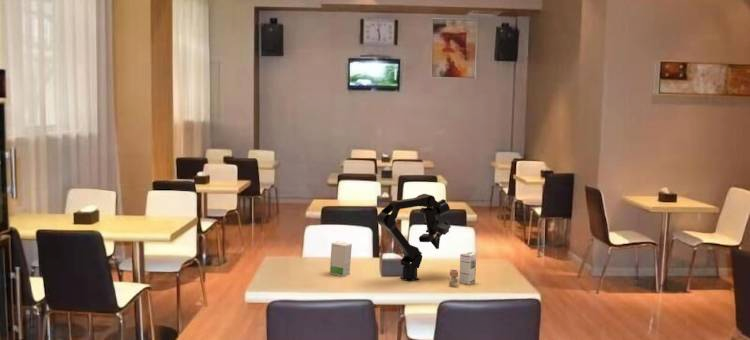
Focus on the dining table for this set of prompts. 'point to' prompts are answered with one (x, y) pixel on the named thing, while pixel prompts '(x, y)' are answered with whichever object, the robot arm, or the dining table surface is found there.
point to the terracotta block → (454, 273)
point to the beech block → (453, 281)
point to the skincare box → (340, 258)
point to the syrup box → (467, 268)
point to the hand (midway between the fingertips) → (437, 248)
